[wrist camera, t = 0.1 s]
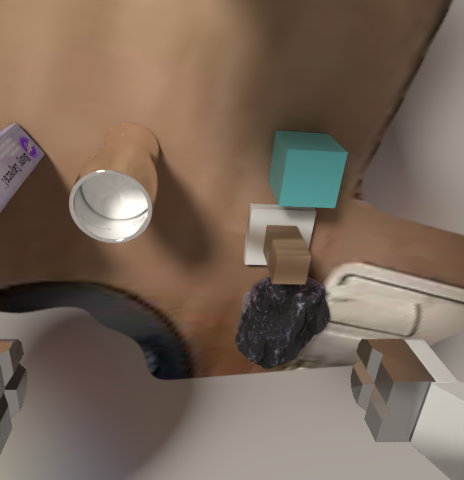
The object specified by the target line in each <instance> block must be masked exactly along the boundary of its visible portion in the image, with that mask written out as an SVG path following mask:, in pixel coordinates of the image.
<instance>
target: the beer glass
mask: <svg viewBox="0 0 464 480" xmlns="http://www.w3.org/2000/svg"><path fill="white" fill-rule="evenodd" d="M158 158H159V145H158V142H157V139H156V138H155V136H154V135H153V133H152V132H151V131H150V130H149V129H147V128H146V127H144V126H142V125H140V124H137V123H130V122H128V123H122V124H119V125H116V126H115V127H113V128H112V129H111V130H110V131H109V132H108V133H107V135H106V137H105V140H104V144H103V146H102V147H101V148H99V149H98V150H97V151H95V152H94V153H93V154H92V155H91V156H90V157H89V158H88V159H87V160H86V162H85V163H84V165H83V166H82V168H81V170H80V172H79V173H78V176H77V178H76V181H75V183H74V186H73V188H72V190H71V193H70V197H69V209H70V213H71V216H72V218H73V220H74V222H75V223H76V225H77V226H78V227H79V228H80V229H81V230H82V231H83V232H84V233H85V234H87V235H88V236H90V237H92V238H94V239H96V240H99V241H102V242H107V243H122V242H127V241H130V240H132V239H134V238H136V237H138V236H139V235H140V234H141V233H143V232H144V230H145V229H146V228H147V226H148V225H149V223H150V220H151V217H152V213H153V210H154V207H155V204H156V200H157V195H158V177H157V172H156V168H155V165H156V163H157V161H158Z"/></svg>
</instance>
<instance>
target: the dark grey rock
mask: <svg viewBox="0 0 464 480" xmlns="http://www.w3.org/2000/svg"><path fill="white" fill-rule="evenodd" d="M324 295H325V289H324V284H323V283H320V282H318V281H317V280H314V279H312V278H310V277H308V276H307V279H306V284H273V283H272V280H271V277H266V278H264V279H263V280H261V281H259V282H258V283H256V284H255V285H254V286H253V287H252V289H251V291H249V292H247V293H246V294H245V295H244V296H243V301H242V309H241V313H240V314H241V316H240V319H239V322H238V334H237V335H236V338H235V341H236V344H237V348H238V350H239V351H240V352H241V353H242V354H243V355H244V356H245V357H246V358H247V359H248V360H250V361H251V362H254V363H255V364H257V365H261V366H262V367H263V368H264V369H270V368H272V367H274V366H276V365H279V364H284V363H286V362H289V361H291V360H293V359H295V358H296V356H297V354H298V352H299V351H300V350H301V349H302V348H304V347H305V345H306V344H307V343H308V341H310V340H311V338H312V337H313V336H314V335H317V334H318V333H320V332H321V331H322V330H323V329H324V327H325V326H326V324H327V322H328V320H329V318H330V315H329V314H330V313H329V309H328V306H327V302H326V301H325V299H324V298H325V297H324Z"/></svg>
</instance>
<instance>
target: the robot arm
mask: <svg viewBox="0 0 464 480" xmlns="http://www.w3.org/2000/svg"><path fill="white" fill-rule="evenodd" d="M23 354H24V353H23V348H22V343H21V342H20V341H19V340H18V339H0V454H1V452H2V450H3V448H4V445H5V443H6V441H7V439H8V437H9V435H10V433H11V430H12V423H11V418H12V417H14V416H15V415H16V414H18V413H19V412H20V410H21V408H22V406H23V403H24V400H25V396H26V391H27V372H26V369H25V368H24V367H23V366H21V364H20V363H19V362H20V360H21V358H22V356H23ZM357 354H358V356H359V357H360V360H359V361H358V362H357V363H356V364H355V365H354V366H353V369H352V374H351V388H352V392H353V396H354V398H355V400H356V402H357V404H358V405H359V406H360V407H362V408H363V409H364V410H366V411H367V412H366V415H365V421H366V423H367V425H368V427H369V429H370V431H371V433H372V435H373V437H374V439H375V441H376V442H410V444H411V445H412V446H413V447H415V448H416V449H417V450H418V451H419V452H420V453H421V454H423V455H424V456H425V457H426V458H427V459H428V460H429V461H430V462H432V463H433V464H434V465H435V466H436V467H437V468H438V469H439V470H441V471H442V472H443V473H444V474H445V475H446V476H447V477H449V478H450V479H451V480H464V382H458V381H457V380H456V379H455V377H454V376H453V375H452V374H451V373H450V371H449V370H448V369H447V368H446V366H445V365H444V364H443V363H442V362H441V360H440V359H439V358H438V357H437V356H436V354H435V353H434V352H433V351H432V350H431V348H430V347H429V346H428V345H427V344H426V342H425V341H424V340H422V339H420V338H400V339H362V340H361V341H360V343H359V345H358V348H357Z"/></svg>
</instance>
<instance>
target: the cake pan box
mask: <svg viewBox="0 0 464 480" xmlns="http://www.w3.org/2000/svg"><path fill="white" fill-rule="evenodd" d="M44 155H45V154H44V152H43V151H42V150H41V149H40V148H39V147H38V146H37V145H36V144H35V142H34V141H33V140H32V139H31V138H30V137H29V136H28V135H27V134H26V133H25V131H24V130H23V129H22V128H21V127H20V126H19V125H18V124H17V123H13V124H11V125H10V126H8V127H6V128H5V129H4V130H2V131H1V132H0V213H1V211H2V210H3V209H4V207H5V206H6V205H7V203H8V202H9V201H10V199H11V198H12V197H13V195H14V194H15V193H16V191H17V190H18V189H19V187H20V186H21V185H22V184H23V182H24V181H25V180H26V179H27V178H28V176H29V175H30V174H31V172H32V171H33V170H34V168H35V167H36V166H37V164H38V163H39V162H40V160H41V159H42V158H43V156H44Z"/></svg>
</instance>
